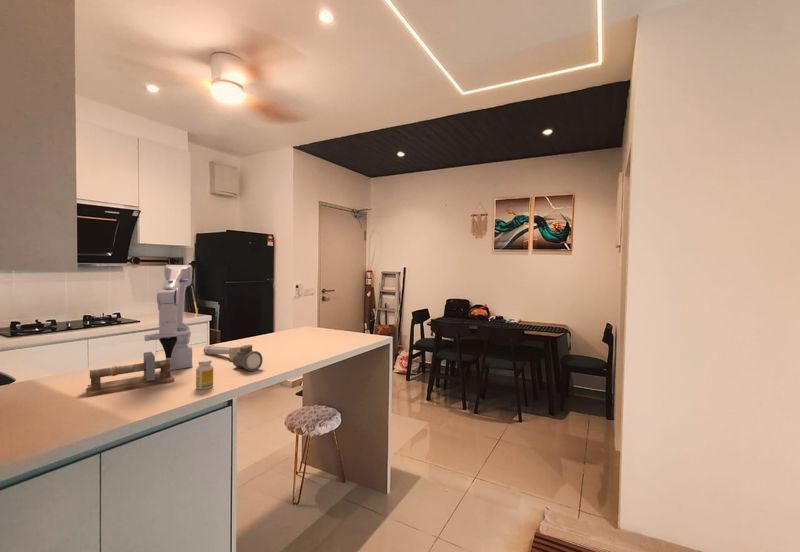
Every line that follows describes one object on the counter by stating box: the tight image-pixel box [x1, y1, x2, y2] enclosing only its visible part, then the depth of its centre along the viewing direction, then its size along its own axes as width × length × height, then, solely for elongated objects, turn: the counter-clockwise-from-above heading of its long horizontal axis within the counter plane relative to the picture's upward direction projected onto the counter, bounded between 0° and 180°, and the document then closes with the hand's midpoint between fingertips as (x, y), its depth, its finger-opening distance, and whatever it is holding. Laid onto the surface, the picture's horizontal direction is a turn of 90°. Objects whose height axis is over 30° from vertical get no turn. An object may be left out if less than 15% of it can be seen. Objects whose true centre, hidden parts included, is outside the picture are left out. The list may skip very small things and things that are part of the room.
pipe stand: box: [87, 359, 175, 397], centre depth 128 cm, size 24×11×7 cm, turn 132°
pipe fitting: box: [232, 344, 263, 372], centre depth 150 cm, size 12×8×10 cm
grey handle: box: [203, 344, 240, 362], centre depth 168 cm, size 5×7×25 cm
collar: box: [143, 351, 156, 381], centre depth 132 cm, size 2×9×9 cm, turn 42°
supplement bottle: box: [195, 358, 214, 390], centre depth 127 cm, size 5×5×10 cm
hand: (168, 357), depth 135 cm, fingers closed
